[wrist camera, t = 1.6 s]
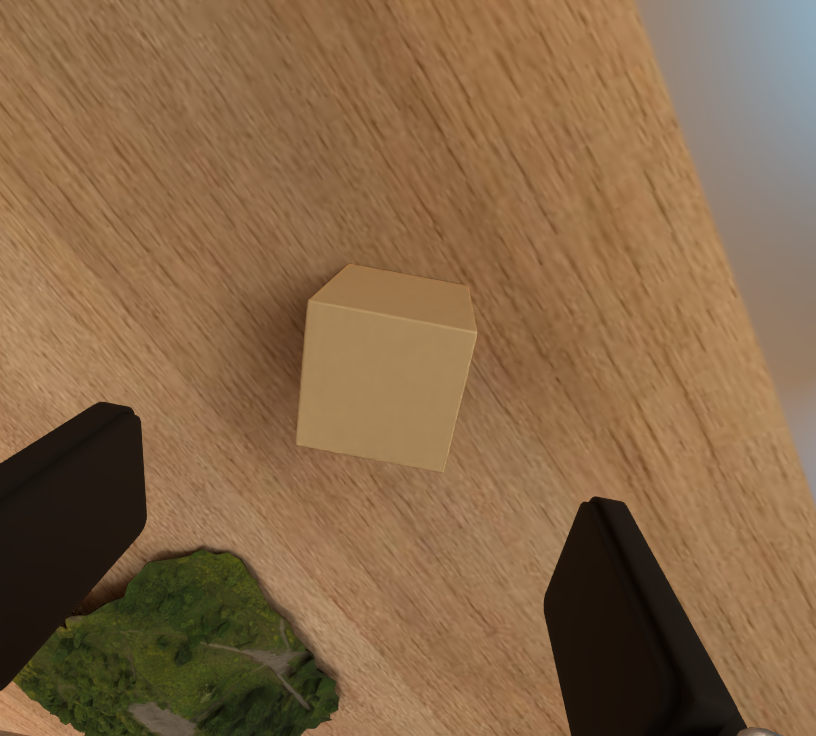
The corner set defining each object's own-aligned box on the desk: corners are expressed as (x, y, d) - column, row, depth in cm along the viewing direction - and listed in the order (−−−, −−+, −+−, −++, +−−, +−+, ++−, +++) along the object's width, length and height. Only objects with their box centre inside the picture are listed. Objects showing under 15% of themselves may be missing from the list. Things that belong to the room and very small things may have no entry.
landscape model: (370, 691, 31) (361, 784, 27) (127, 735, 36) (86, 821, 32) (238, 528, 24) (196, 618, 20) (-44, 608, 29) (-129, 697, 24)
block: (348, 262, 19) (306, 299, 13) (469, 285, 19) (478, 331, 13) (335, 373, 21) (294, 446, 15) (444, 394, 21) (443, 474, 15)
